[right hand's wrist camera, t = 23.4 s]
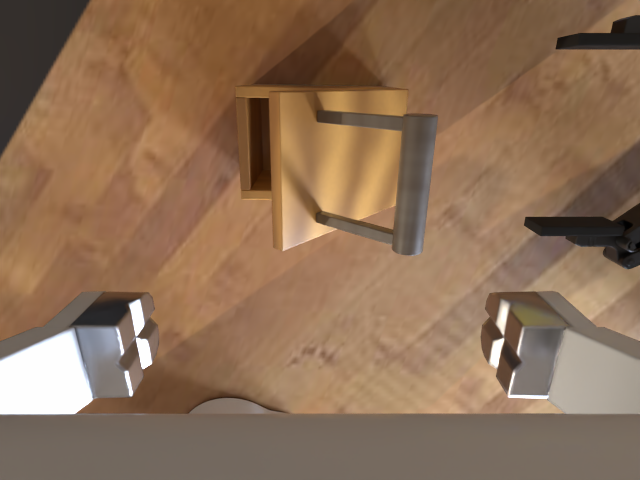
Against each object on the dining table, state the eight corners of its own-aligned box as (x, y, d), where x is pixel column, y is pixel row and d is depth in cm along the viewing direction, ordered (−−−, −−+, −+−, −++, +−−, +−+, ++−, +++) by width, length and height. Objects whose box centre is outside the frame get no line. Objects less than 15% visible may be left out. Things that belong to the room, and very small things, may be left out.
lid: (272, 248, 26) (386, 291, 21) (267, 91, 22) (402, 97, 17) (389, 202, 36) (485, 224, 31) (399, 88, 32) (508, 92, 27)
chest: (256, 175, 45) (241, 199, 36) (252, 84, 41) (234, 85, 33) (379, 177, 45) (393, 201, 36) (385, 86, 41) (402, 88, 33)
